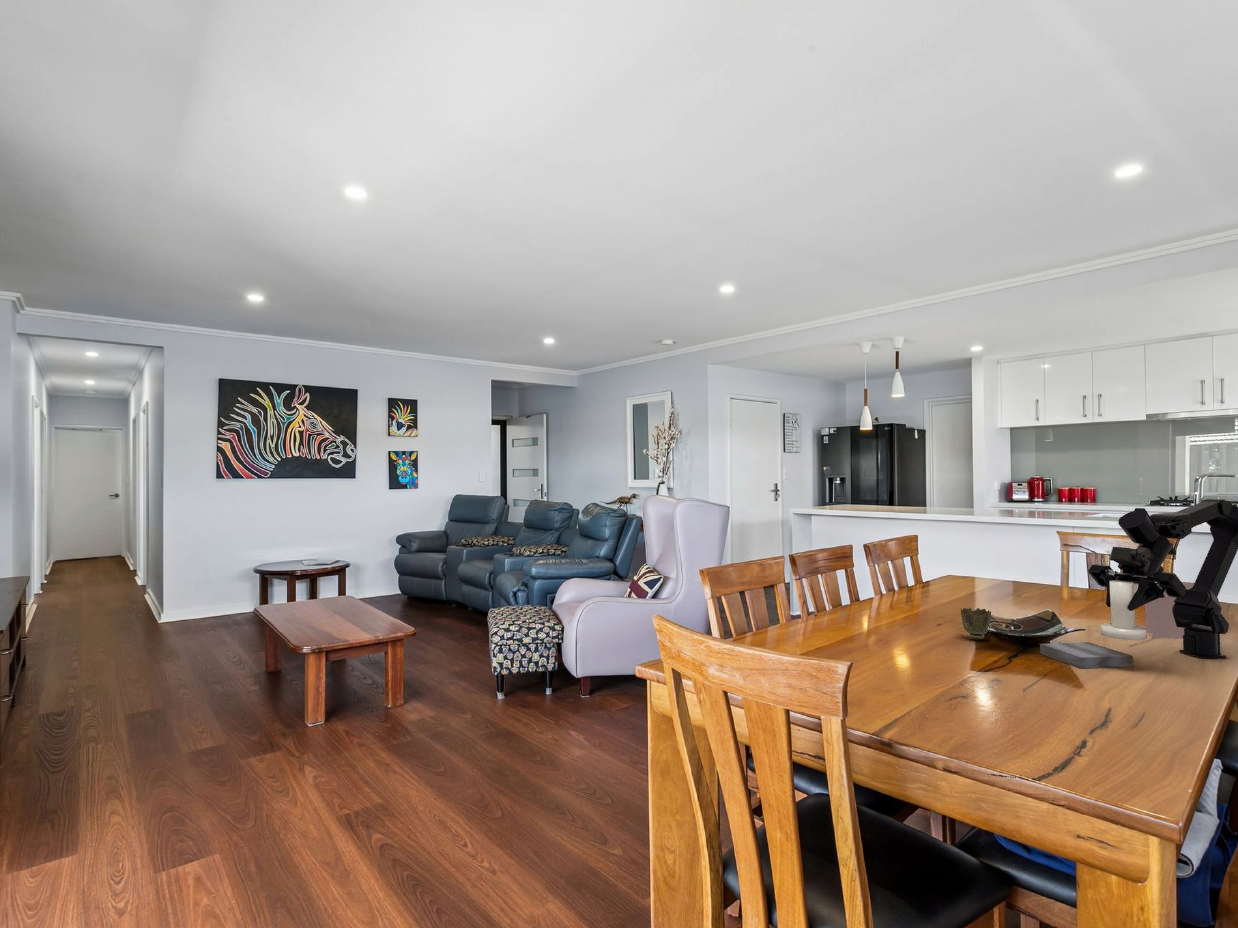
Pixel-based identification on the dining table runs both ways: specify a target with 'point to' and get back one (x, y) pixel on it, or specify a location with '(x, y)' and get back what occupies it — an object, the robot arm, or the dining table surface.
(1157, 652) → the dining table surface
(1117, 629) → the cream cylindrical piece
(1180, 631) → the greeting card
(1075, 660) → the grey block
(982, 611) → the cup
